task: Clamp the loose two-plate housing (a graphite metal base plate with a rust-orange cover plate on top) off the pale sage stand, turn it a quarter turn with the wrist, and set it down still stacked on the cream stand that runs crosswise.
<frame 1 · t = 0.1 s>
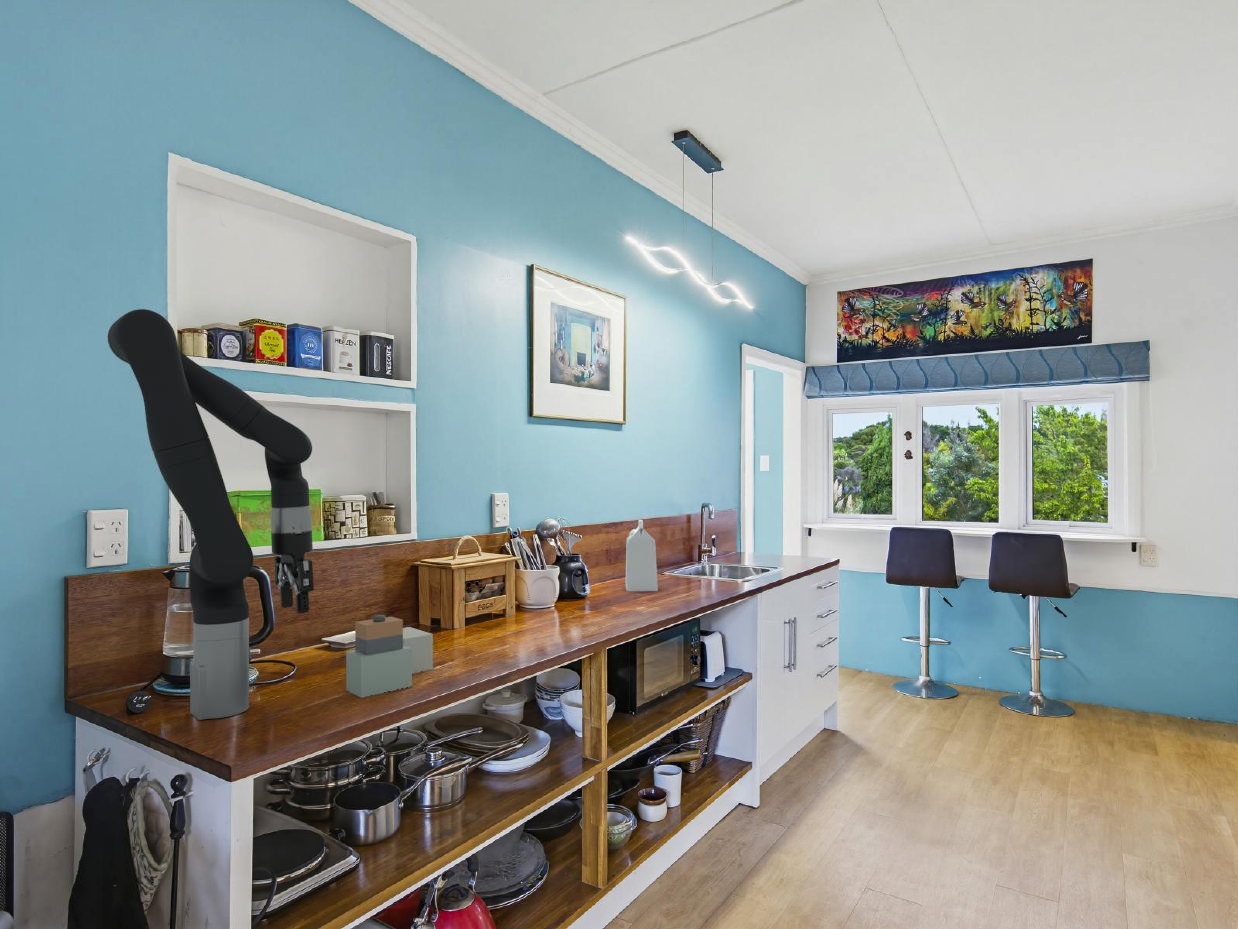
hand: (294, 609, 149), 17 cm above the worktop, tool pointing down, fingers open, 8 cm apart
stand b: (407, 667, 170), on the worktop
bottom plate: (379, 649, 154), point 8 cm above the worktop, touching stand a, top plate
milk: (641, 589, 283), on the worktop
top plate: (379, 635, 154), point 11 cm above the worktop, touching bottom plate
stand a: (379, 688, 154), on the worktop
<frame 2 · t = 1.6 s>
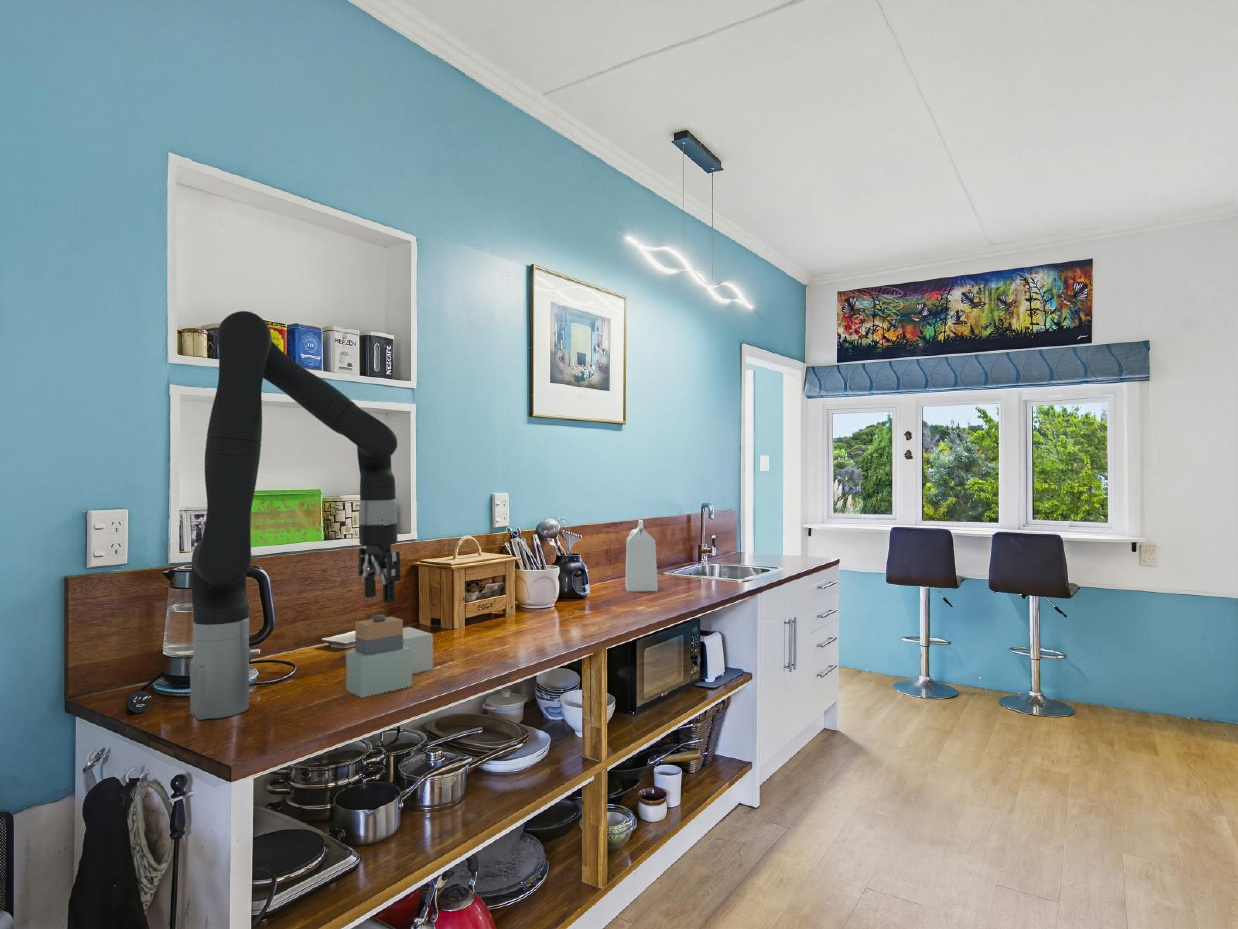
hand: (379, 599, 154), 18 cm above the worktop, tool pointing down, fingers open, 8 cm apart
nothing on the worktop moved.
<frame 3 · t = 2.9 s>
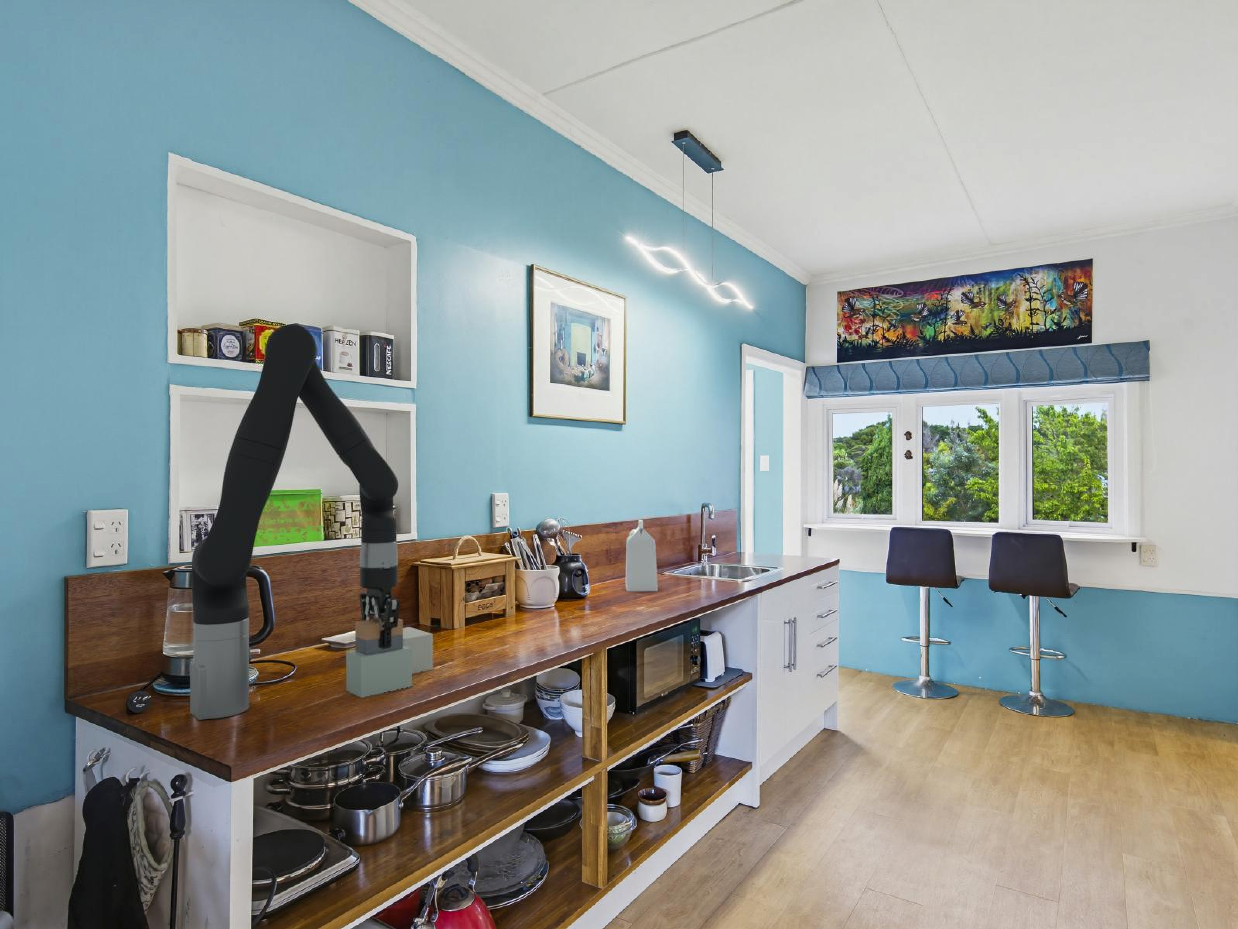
hand: (379, 645, 154), 9 cm above the worktop, tool pointing down, fingers closed on bottom plate, top plate, 5 cm apart
bottom plate: (379, 649, 154), point 8 cm above the worktop, touching gripper, stand a, top plate
top plate: (379, 635, 154), point 11 cm above the worktop, touching bottom plate, gripper
everything else where it was.
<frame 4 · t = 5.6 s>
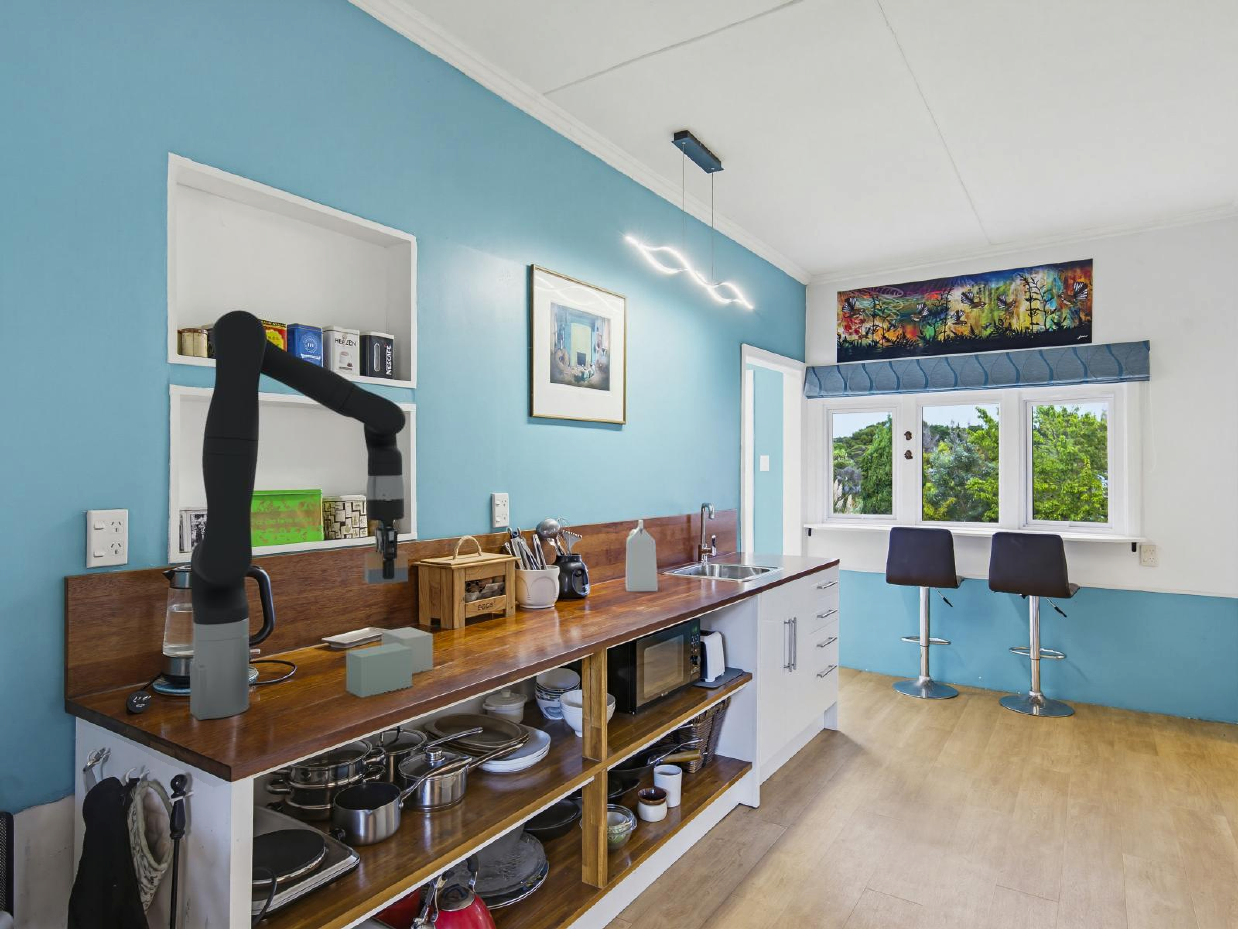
hand: (386, 576, 157), 23 cm above the worktop, tool pointing down, fingers closed on bottom plate, top plate, 5 cm apart
bottom plate: (386, 581, 157), point 22 cm above the worktop, touching gripper, top plate
top plate: (386, 567, 157), point 25 cm above the worktop, touching bottom plate, gripper
everything else where it was.
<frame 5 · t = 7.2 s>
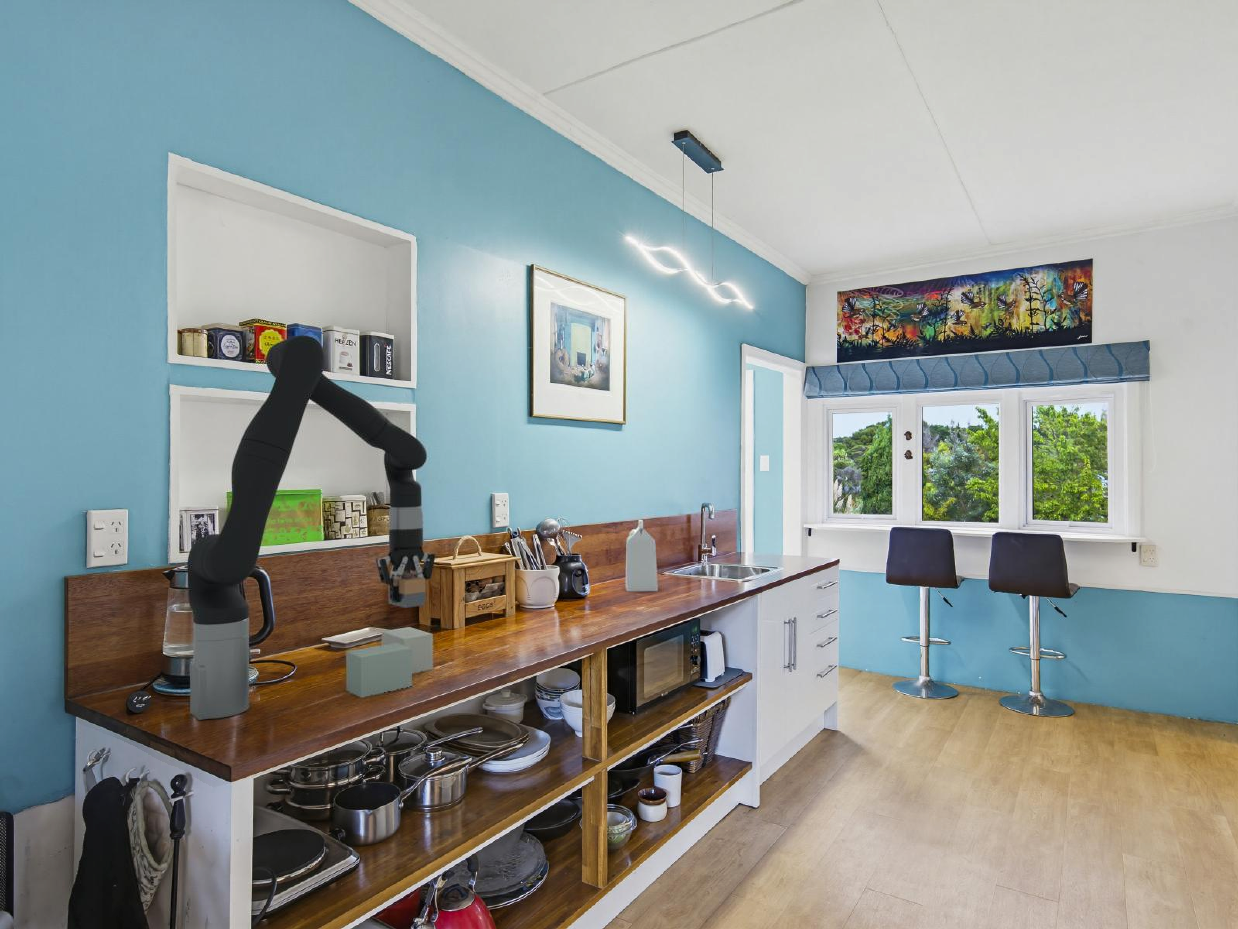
hand: (406, 600, 170), 15 cm above the worktop, tool pointing down, fingers closed on bottom plate, top plate, 5 cm apart
bottom plate: (406, 604, 170), point 15 cm above the worktop, touching gripper, top plate
top plate: (406, 591, 170), point 18 cm above the worktop, touching bottom plate, gripper
everything else where it was.
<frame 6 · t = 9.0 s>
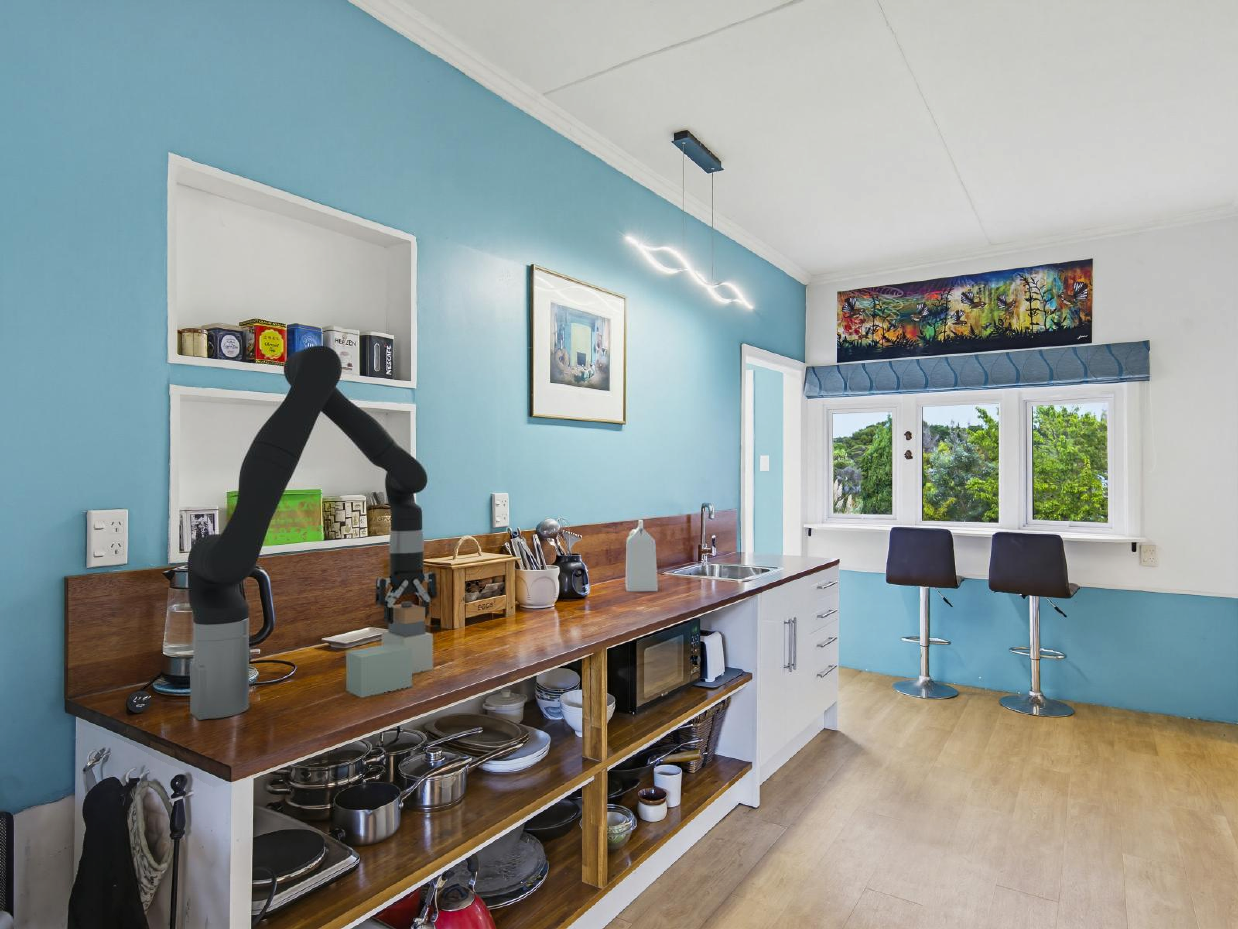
hand: (406, 620, 170), 11 cm above the worktop, tool pointing down, fingers open, 8 cm apart
bottom plate: (406, 632, 170), point 8 cm above the worktop, touching stand b, top plate
top plate: (406, 619, 170), point 11 cm above the worktop, touching bottom plate
everything else where it was.
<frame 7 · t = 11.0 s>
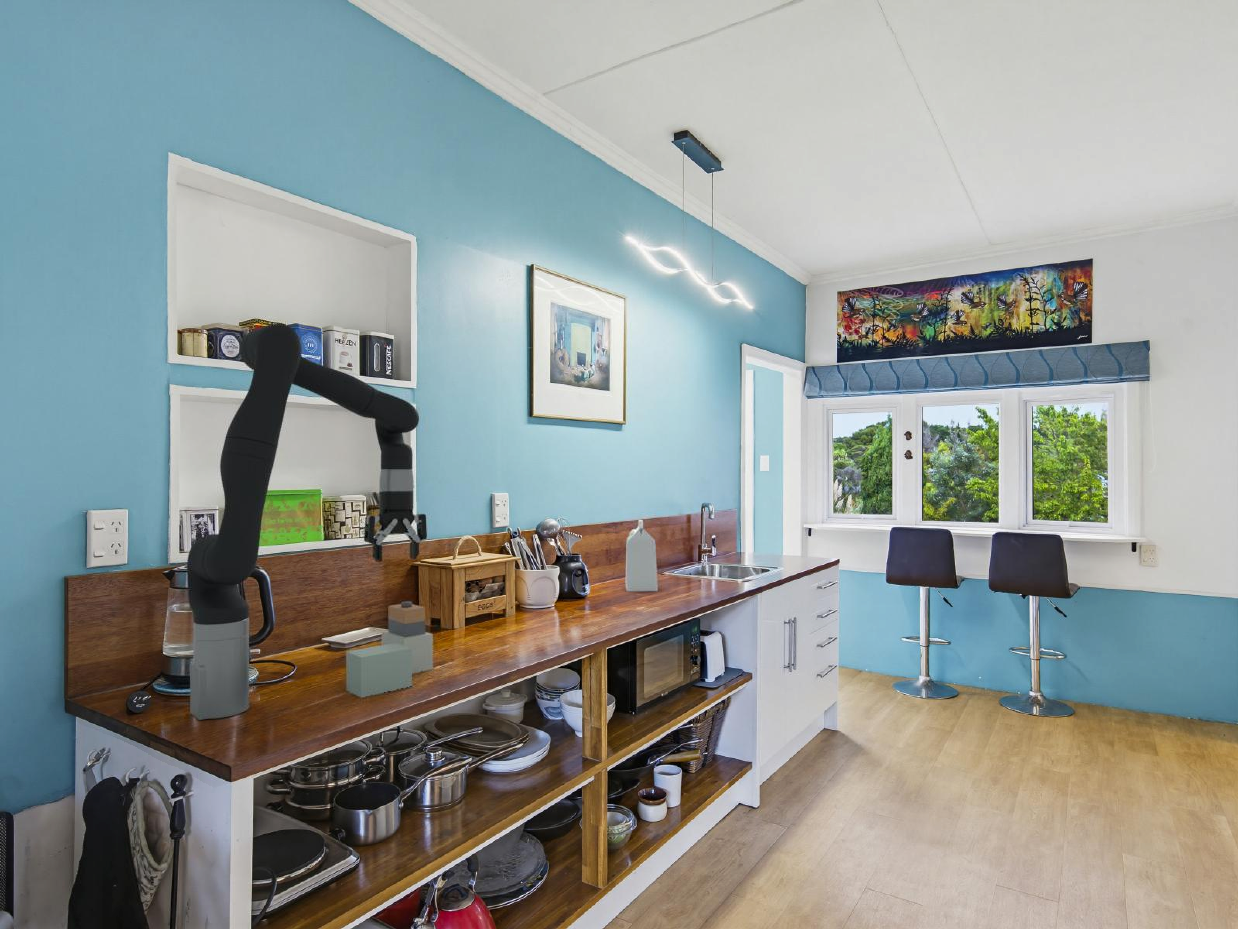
hand: (396, 560, 170), 25 cm above the worktop, tool pointing down, fingers open, 8 cm apart
nothing on the worktop moved.
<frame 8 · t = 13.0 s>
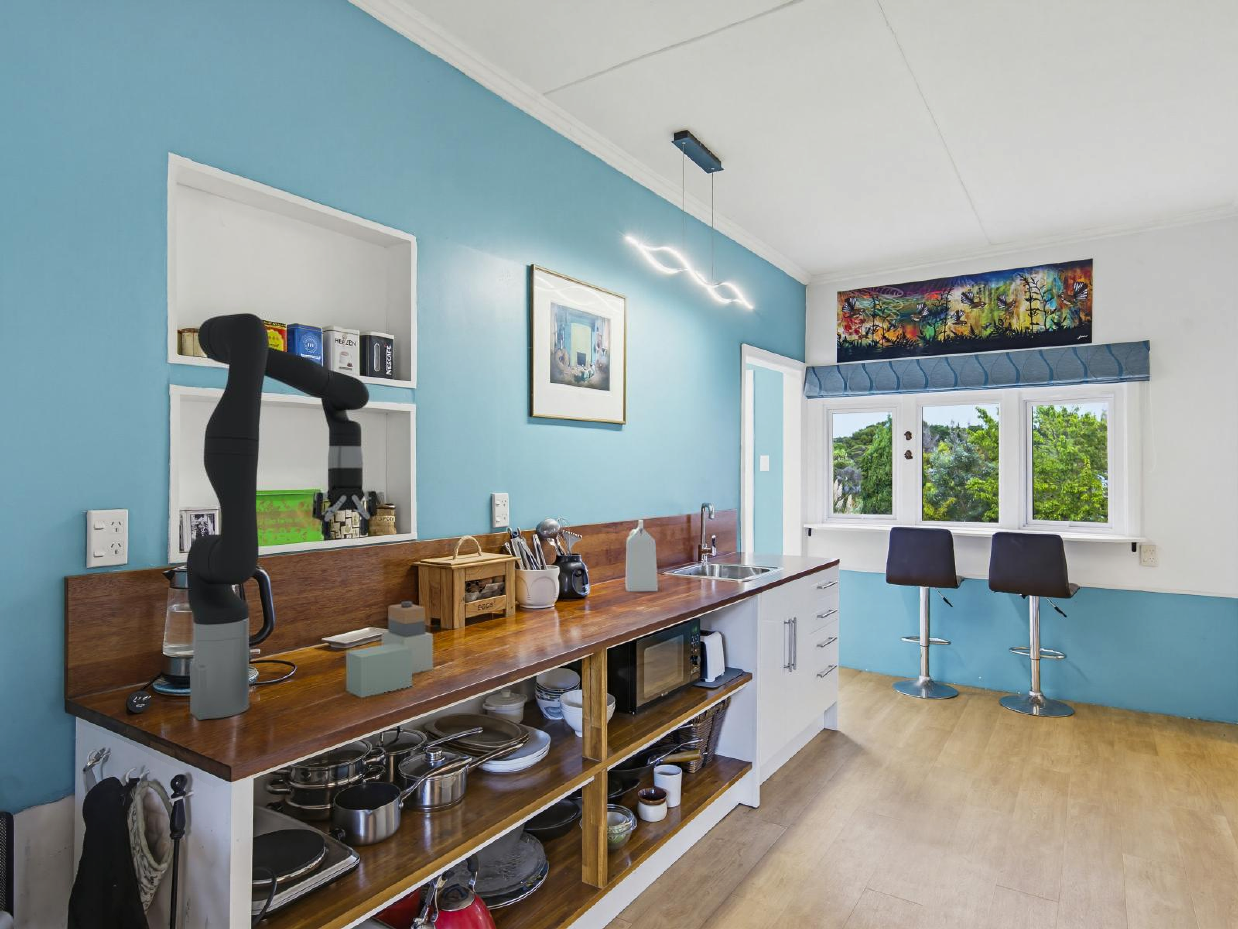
hand: (345, 536, 171), 30 cm above the worktop, tool pointing down, fingers open, 8 cm apart
nothing on the worktop moved.
at the end: bottom plate 0.1 cm off-centre on the stand b, point 8.0 cm above the stand b's base; top plate 0.0 cm off-centre on the bottom plate, point 3.0 cm above the bottom plate's base; top plate tilted 0° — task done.
